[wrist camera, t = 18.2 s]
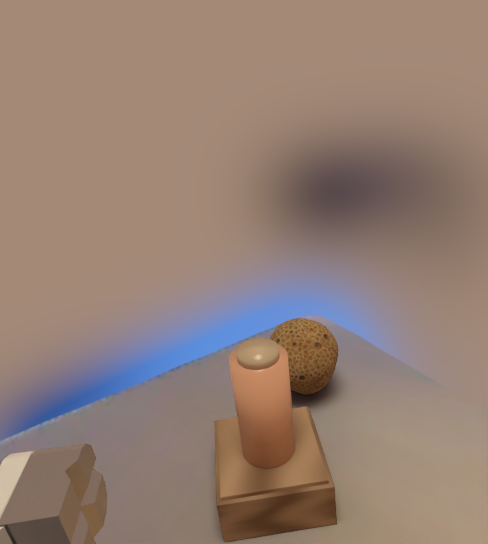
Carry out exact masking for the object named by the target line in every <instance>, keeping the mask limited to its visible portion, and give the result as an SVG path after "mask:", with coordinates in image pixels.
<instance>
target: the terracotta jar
mask: <svg viewBox="0 0 488 544" xmlns="http://www.w3.org/2000/svg"><path fill="white" fill-rule="evenodd" d="M229 364H230V371H231V378H232V385H233V391H234V398H235V405H236V412H237V419H238V425H239V432H240V439H241V446H242V452H243V455H244V457H245V459H246V460H247V461H248V462H249V463H251V464H252V465H254V466H257V467H260V468H274V467H278V466H280V465H283V464H284V463H286V462H287V461H288V460H290V458H291V457H292V456H293V454H294V452H295V436H294V424H293V412H292V400H291V388H290V376H289V365H288V354H287V351H286V350H285V349H284V348H283V347H282V346H281V345H279V344H277V343H276V342H275V341H273V340H271V339H267V338H253V339H249V340H246V341H244V342H242V343H241V344H240V345H239V346H238V347H237V349H235V350H234V351H233V352H232V353H231V355H230V357H229Z"/></svg>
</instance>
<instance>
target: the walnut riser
mask: <svg viewBox="0 0 488 544" xmlns="http://www.w3.org/2000/svg"><path fill="white" fill-rule="evenodd" d="M292 412H293V424H294V436H295V452H294V454H293V456H292V457H291V458H290V460H288V461H287V462H286V463H284V464H283V465H280V466H278V467H274V468H260V467H257V466H254V465H252V464H251V463H249V462H248V461H247V460H246V459H245V457H244V455H243V452H242V446H241V439H240V432H239V425H238V419H237V417H235V418H229V419H222V420H218V421H214V426H215V465H216V503H217V510H218V515H219V519H220V524H221V529H222V533H223V538H224V542H229V541H235V540H241V539H247V538H253V537H259V536H266V535H272V534H278V533H284V532H290V531H296V530H302V529H309V528H315V527H321V526H327V525H333V524H337V520H336V503H335V487H334V484H333V480H332V477H331V474H330V471H329V468H328V465H327V462H326V459H325V455H324V452H323V449H322V446H321V443H320V440H319V437H318V434H317V431H316V427H315V424H314V421H313V418H312V415H311V412H310V409H309V406H308V407H299V408H293V409H292Z"/></svg>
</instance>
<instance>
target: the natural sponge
mask: <svg viewBox="0 0 488 544" xmlns="http://www.w3.org/2000/svg"><path fill="white" fill-rule="evenodd" d="M270 339H271V340H273V341H275V342H276V343H277V344H279V345H281V346H282V347H283V348H284V349H285V350H286V351H287V354H288V365H289V376H290V388H291V390H293V391H296V392H298V393H301V394H313V393H315V392H317V391H319V390H321V389H322V388H323V387H324V386H325V385H326V384H327V383H328V382H329V380H330V378H331V376H332V374H333V372H334V369H335V366H336V362H337V358H338V346H337V342H336V340H335V338H334V336H333V335H332V334H331V332H330V331H329V330H328V329H327V328H326V327H325V326H323V325H322V324H320V323H318V322H315V321H312V320H307V319H300V318H299V319H292V320H289V321H286V322H284V323H283V324H281V325H280V326H278V327H277V328H276V330H275V331H274V332H273V334H272V336H271V338H270Z"/></svg>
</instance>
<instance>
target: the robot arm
mask: <svg viewBox="0 0 488 544" xmlns="http://www.w3.org/2000/svg"><path fill="white" fill-rule="evenodd" d="M95 460H96V456H95V454H94V451H93V449H92V446H91V445H89V444H79V445H72V446H64V447H56V448H49V449H41V450H36V451H31V452H23V453H15V454H10V455H9V456H8V457H6V458H5V459H4V460H3V461H2V463H1V465H0V544H96V543H95V540H94V536H95V535H96V534H97V533H98V532H99V531H100V529H101V528H102V527H103V525H104V520H105V516H106V508H107V492H106V486H105V482H104V479H103V476H102V474H101V473H99V472H98V471H96V470H95V469H93V467H94V463H95Z"/></svg>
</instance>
